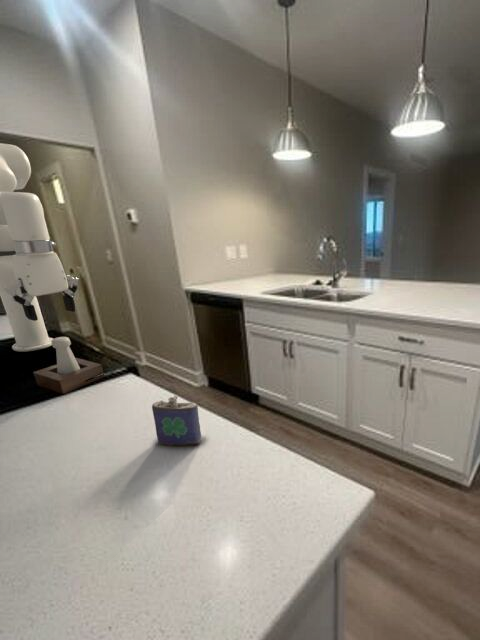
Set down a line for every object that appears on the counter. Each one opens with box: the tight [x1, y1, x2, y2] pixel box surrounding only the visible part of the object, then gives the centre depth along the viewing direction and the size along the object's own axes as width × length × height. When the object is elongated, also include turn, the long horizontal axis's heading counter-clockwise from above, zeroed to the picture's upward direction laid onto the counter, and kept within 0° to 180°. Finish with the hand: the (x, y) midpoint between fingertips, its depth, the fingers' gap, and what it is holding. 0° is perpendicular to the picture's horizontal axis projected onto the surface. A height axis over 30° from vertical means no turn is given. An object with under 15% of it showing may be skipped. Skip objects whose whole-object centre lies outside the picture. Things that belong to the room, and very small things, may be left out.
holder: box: [33, 357, 105, 395], centre depth 98 cm, size 12×12×4 cm
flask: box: [151, 395, 203, 447], centre depth 70 cm, size 9×3×11 cm, turn 87°
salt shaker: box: [51, 336, 80, 375], centre depth 96 cm, size 6×6×13 cm
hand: (52, 315), depth 91 cm, fingers open, 9 cm apart
